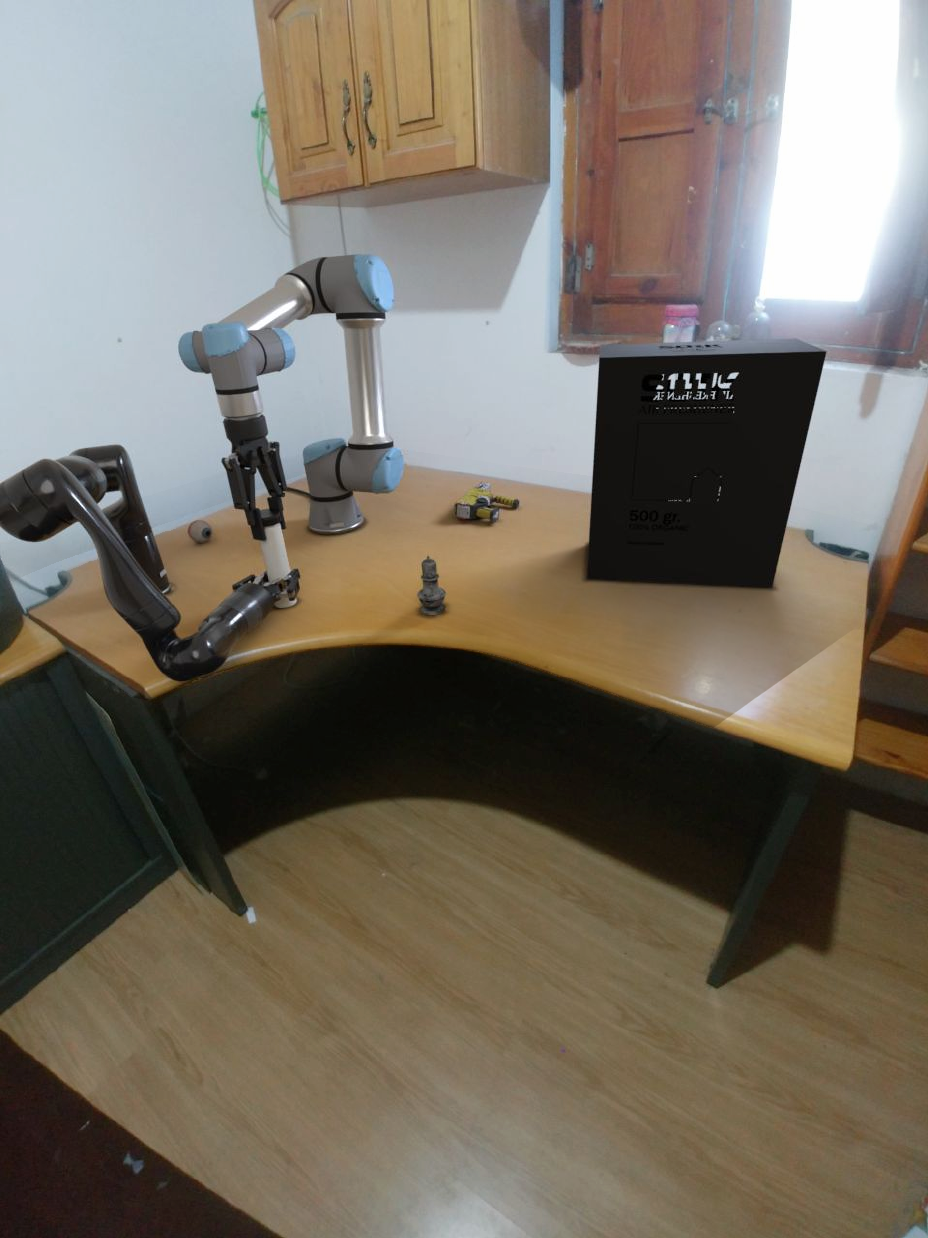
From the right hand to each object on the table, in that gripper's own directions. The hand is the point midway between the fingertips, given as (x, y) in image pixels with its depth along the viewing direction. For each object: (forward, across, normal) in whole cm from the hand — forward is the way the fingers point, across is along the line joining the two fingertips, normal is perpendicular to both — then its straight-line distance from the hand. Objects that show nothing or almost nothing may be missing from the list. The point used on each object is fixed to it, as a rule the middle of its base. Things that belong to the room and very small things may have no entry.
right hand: (270, 533), depth 122 cm
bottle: (+16, 0, 0) cm, 16 cm away
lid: (-4, 0, 0) cm, 4 cm away
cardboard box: (+16, -44, +74) cm, 88 cm away
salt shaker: (+16, -8, +32) cm, 36 cm away
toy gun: (+16, -66, +21) cm, 71 cm away
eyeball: (+16, -21, -44) cm, 52 cm away
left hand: (+10, -3, 0) cm, 10 cm away
